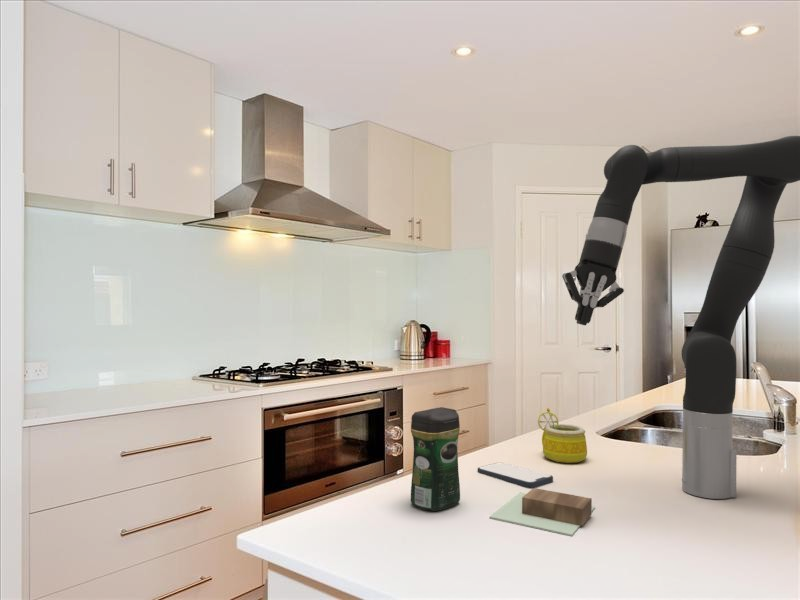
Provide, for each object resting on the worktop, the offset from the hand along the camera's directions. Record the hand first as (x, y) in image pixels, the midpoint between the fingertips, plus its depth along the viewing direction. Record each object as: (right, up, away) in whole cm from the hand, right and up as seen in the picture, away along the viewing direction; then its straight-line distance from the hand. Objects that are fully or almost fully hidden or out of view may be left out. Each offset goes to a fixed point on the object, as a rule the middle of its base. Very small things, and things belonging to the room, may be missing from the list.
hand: (581, 324), depth 120 cm
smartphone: (-11, -36, +12) cm, 39 cm away
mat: (-10, -35, -10) cm, 38 cm away
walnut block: (-3, -33, -15) cm, 36 cm away
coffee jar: (-30, -35, -6) cm, 47 cm away
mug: (+4, -35, +28) cm, 45 cm away
